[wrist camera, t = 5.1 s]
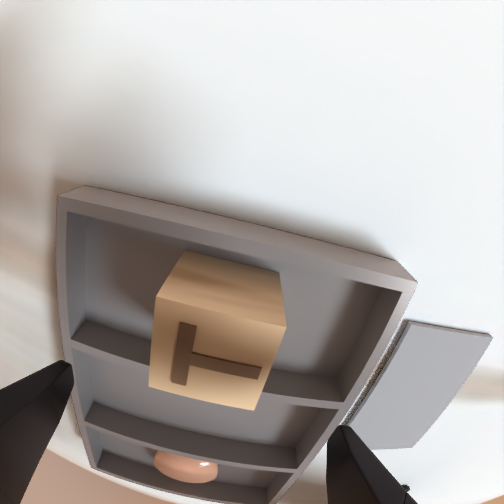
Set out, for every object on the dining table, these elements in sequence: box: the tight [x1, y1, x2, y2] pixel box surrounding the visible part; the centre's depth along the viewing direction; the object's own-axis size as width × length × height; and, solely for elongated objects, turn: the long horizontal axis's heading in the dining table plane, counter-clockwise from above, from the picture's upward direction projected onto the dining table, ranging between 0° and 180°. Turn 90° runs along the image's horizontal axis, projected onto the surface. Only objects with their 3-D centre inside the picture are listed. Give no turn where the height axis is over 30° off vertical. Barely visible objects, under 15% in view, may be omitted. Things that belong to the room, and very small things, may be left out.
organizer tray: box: [56, 186, 418, 504], centre depth 17 cm, size 23×16×2 cm
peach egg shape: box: [154, 450, 218, 483], centre depth 20 cm, size 5×5×1 cm
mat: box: [346, 321, 493, 450], centre depth 18 cm, size 12×8×1 cm, turn 166°
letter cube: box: [148, 250, 287, 411], centre depth 13 cm, size 4×4×5 cm
